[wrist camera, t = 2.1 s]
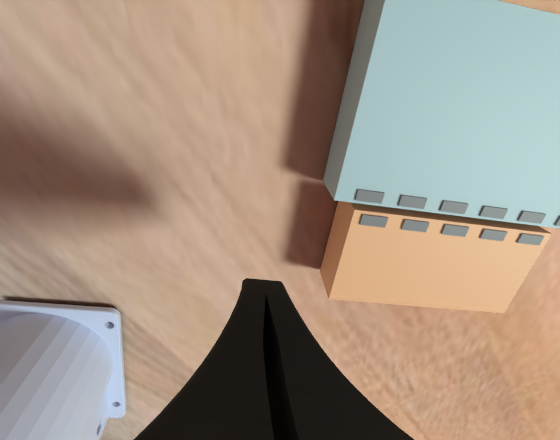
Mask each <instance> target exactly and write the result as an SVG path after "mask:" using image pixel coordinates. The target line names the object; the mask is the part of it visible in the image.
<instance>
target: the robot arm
mask: <svg viewBox="0 0 560 440" xmlns="http://www.w3.org/2000/svg"><path fill="white" fill-rule="evenodd" d="M109 322H112V323H113V324H111V323H109ZM126 409H127V408H126V393H125V378H124V363H123V347H122V332H121V317H120V312H119V311H118V310H116V309H114V308H107V307H93V306H79V305H64V304H50V303H35V302H21V301H7V300H0V440H100V437H101V435H102V432H103V430H104V427H105V425H106V422H107V420H108V418H121V417H123V416H124V415H125V412H126ZM134 440H414V439H413V438H411V437H410V436H409V435H408V434H406V433H405V432H404V431H402V430H401V429H400V428H399V427H397V426H396V425H395V424H394V423H393V422H392V421H391V420H389V419H388V418H387V417H386V416H385V415H384V414H383V413H381V412H380V411H379V410H378V409H377V408H376V407H375V406H374V405H373V404H372V403H371V402H369V401H368V400H367V399H366V398H365V397H364V396H363V395H362V394H361V393H360V392H359V391H358V390H357V389H356V388H355V387H354V386H353V385H352V384H351V383H350V382H349V380H348V379H347V378H346V377H345V376H344V375H343V374H342V373H341V371H340V370H339V369H338V368H337V367H336V366H335V364H334V363H333V362H332V361H331V360H330V358H329V357H328V356H327V354H326V353H325V352H324V351H323V349H322V348H321V347H320V345H319V344H318V342H317V341H316V339H315V338H314V337H313V335H312V334H311V332H310V331H309V329H308V328H307V326H306V325H305V323H304V321H303V320H302V318H301V316H300V315H299V313H298V311H297V310H296V308H295V306H294V304H293V303H292V301H291V299H290V297H289V295H288V293H287V291H286V289H285V287H284V285H283V283H282V282H281V281H270V280H259V279H248V278H246V279H245V280H243V282H242V289H241V293H240V296H239V298H238V301H237V304H236V306H235V308H234V310H233V312H232V314H231V317H230V319H229V321H228V322H227V324H226V326H225V328H224V330H223V331H222V333H221V335H220V337H219V338H218V340H217V342H216V343H215V345H214V346H213V348H212V349H211V351H210V352H209V354H208V355H207V357H206V358H205V360H204V361H203V362H202V364H201V365H200V366H199V368H198V369H197V370H196V372H195V373H194V374H193V376H192V377H191V378H190V379H189V381H188V382H187V383H186V384H185V386H184V387H183V388H182V389H181V390H180V392H179V393H178V394H177V395H176V396H175V397H174V398H173V399H172V400H171V402H170V403H169V404H168V405H167V406H166V407H165V408H164V409H163V411H162V412H161V413H160V414H159V415H158V416H157V417H156V418H155V419H154V420H153V421H152V422H151V423H150V424H149V425H148V426H147V427H146V428H145V429H144V430H143V431H142V432H141V433H140V434H139V435H138V436H137V437H136V438H135V439H134Z"/></svg>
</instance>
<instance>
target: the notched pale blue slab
mask: <svg viewBox="0 0 560 440" xmlns="http://www.w3.org/2000/svg"><path fill="white" fill-rule="evenodd" d="M323 182H324V184H325V186H326V187H327V189H328V191H329V193H330V194H331V196H332V198H333V199H334V200H335V201H343V202H351V203H359V204H367V205H375V206H383V207H391V208H399V209H407V210H415V211H423V212H431V213H439V214H447V215H455V216H463V217H471V218H479V219H487V220H495V221H503V222H511V223H519V224H527V225H535V226H543V227H551V228H559V229H560V15H558V14H553V13H549V12H545V11H540V10H536V9H532V8H528V7H523V6H519V5H515V4H510V3H506V2H502V1H497V0H365V1H364V5H363V10H362V14H361V18H360V23H359V27H358V31H357V36H356V40H355V44H354V49H353V53H352V57H351V61H350V66H349V70H348V74H347V79H346V83H345V87H344V92H343V96H342V100H341V105H340V109H339V113H338V117H337V122H336V126H335V130H334V135H333V139H332V143H331V148H330V152H329V156H328V161H327V165H326V169H325V174H324V178H323Z"/></svg>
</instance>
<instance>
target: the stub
mask: <svg viewBox="0 0 560 440" xmlns="http://www.w3.org/2000/svg"><path fill="white" fill-rule="evenodd" d="M550 236H551V233H550V232H548V231H546V230H544V229H543V228H541V227H539V226H535V225H527V224H519V223H511V222H503V221H495V220H487V219H479V218H471V217H463V216H455V215H447V214H439V213H431V212H423V211H415V210H407V209H399V208H391V207H383V206H375V205H367V204H359V203H351V202H343V201H338V204H337V208H336V212H335V216H334V219H333V223H332V227H331V231H330V235H329V238H328V242H327V246H326V250H325V254H324V258H323V261H322V265H321V269H320V273H321V276H322V279H323V282H324V286H325V289H326V292H327V295H328V298H329V299H334V300H346V301H359V302H371V303H384V304H396V305H409V306H421V307H434V308H446V309H459V310H471V311H483V312H496V313H505V311H506V309H507V308H508V306H509V304H510V303H511V301H512V299H513V298H514V296H515V294H516V293H517V291H518V289H519V288H520V286H521V284H522V283H523V281H524V279H525V278H526V276H527V274H528V273H529V271H530V269H531V268H532V266H533V264H534V263H535V261H536V259H537V258H538V256H539V254H540V253H541V251H542V249H543V248H544V246H545V244H546V243H547V241H548V239H549V238H550Z"/></svg>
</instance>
